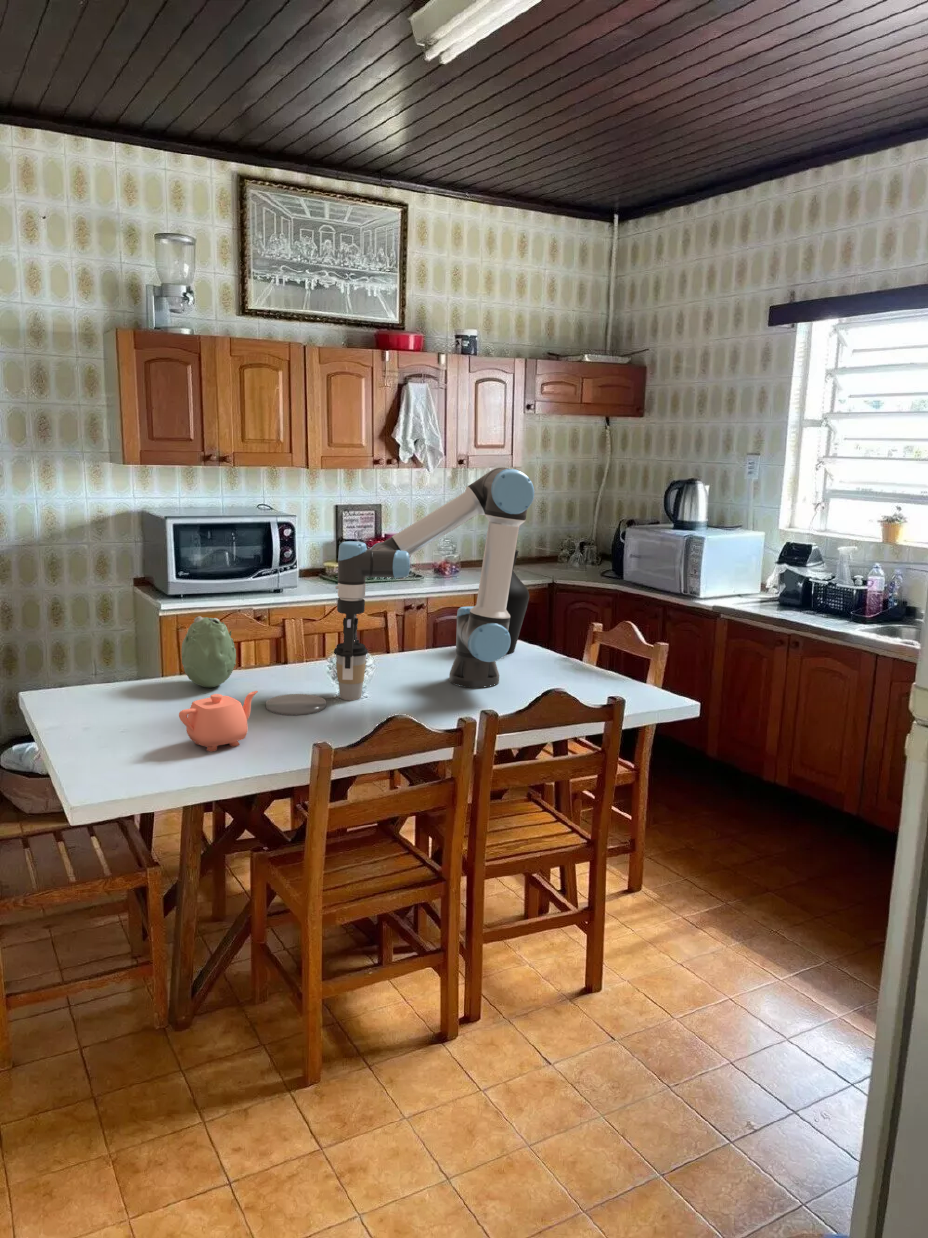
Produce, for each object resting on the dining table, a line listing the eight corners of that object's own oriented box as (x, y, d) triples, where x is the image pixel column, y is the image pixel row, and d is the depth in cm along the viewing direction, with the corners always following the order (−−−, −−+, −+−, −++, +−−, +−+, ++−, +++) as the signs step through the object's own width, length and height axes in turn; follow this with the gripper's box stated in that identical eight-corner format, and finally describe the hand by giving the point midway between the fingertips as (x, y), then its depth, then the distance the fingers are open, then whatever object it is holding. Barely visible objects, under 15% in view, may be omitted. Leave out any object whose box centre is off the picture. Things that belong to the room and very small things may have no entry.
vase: (505, 659, 305) (509, 555, 298) (466, 650, 316) (470, 549, 309) (536, 651, 318) (541, 551, 311) (498, 643, 329) (502, 546, 322)
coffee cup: (370, 693, 262) (370, 642, 259) (363, 703, 253) (364, 650, 250) (337, 691, 263) (338, 640, 260) (329, 701, 254) (330, 648, 250)
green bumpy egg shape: (192, 698, 252) (190, 627, 248) (173, 681, 268) (170, 614, 264) (247, 690, 261) (246, 622, 257) (225, 675, 276) (224, 609, 272)
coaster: (328, 698, 256) (328, 694, 256) (322, 715, 241) (322, 712, 241) (270, 697, 256) (270, 693, 255) (261, 714, 240) (261, 711, 240)
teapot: (192, 759, 207) (190, 708, 205) (169, 744, 216) (167, 695, 213) (270, 741, 220) (269, 693, 218) (246, 728, 229) (245, 682, 226)
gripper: (341, 589, 264) (339, 661, 268) (333, 606, 240) (331, 684, 244) (367, 590, 264) (365, 662, 269) (362, 607, 240) (360, 685, 244)
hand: (349, 673), depth 256 cm, fingers open, 13 cm apart
